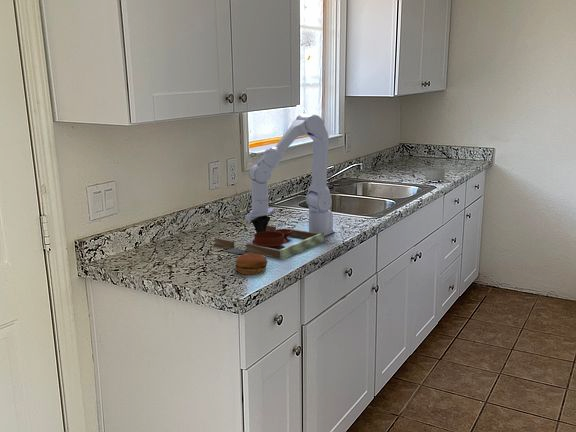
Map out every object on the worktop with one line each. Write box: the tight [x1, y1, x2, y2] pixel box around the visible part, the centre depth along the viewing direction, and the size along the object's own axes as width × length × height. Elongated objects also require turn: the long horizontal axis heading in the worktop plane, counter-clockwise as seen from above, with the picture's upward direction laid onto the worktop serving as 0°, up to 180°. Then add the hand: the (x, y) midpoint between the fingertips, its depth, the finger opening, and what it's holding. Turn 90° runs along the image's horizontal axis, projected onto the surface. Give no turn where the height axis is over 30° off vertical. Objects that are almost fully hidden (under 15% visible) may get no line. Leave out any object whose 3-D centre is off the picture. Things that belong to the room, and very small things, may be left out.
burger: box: [234, 252, 268, 276], centre depth 171 cm, size 10×9×5 cm
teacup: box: [424, 166, 446, 181], centre depth 317 cm, size 14×11×8 cm
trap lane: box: [214, 224, 325, 260], centre depth 199 cm, size 25×29×3 cm
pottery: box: [251, 228, 292, 249], centre depth 198 cm, size 12×20×4 cm, turn 154°
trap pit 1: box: [224, 247, 247, 256], centre depth 190 cm, size 4×6×1 cm, turn 55°
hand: (260, 237), depth 202 cm, fingers closed
